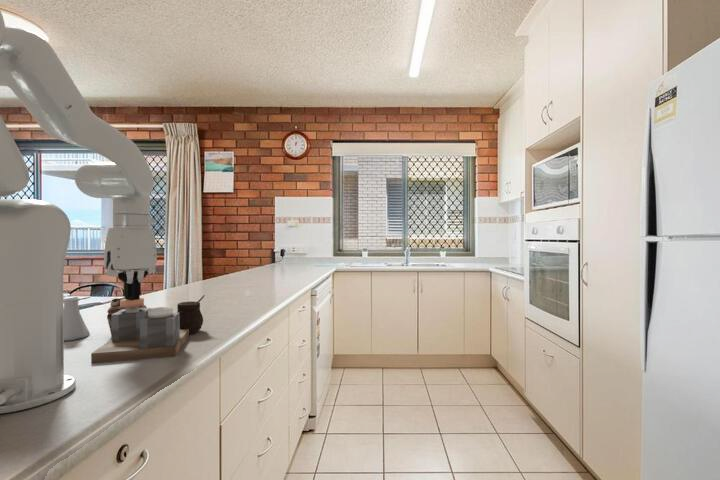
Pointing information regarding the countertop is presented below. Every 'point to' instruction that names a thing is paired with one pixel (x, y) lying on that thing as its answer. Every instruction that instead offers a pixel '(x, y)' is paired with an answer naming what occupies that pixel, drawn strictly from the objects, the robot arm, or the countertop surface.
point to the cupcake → (116, 310)
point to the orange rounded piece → (131, 305)
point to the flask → (73, 320)
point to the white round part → (160, 312)
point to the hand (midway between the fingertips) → (132, 299)
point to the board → (141, 337)
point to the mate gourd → (190, 316)
